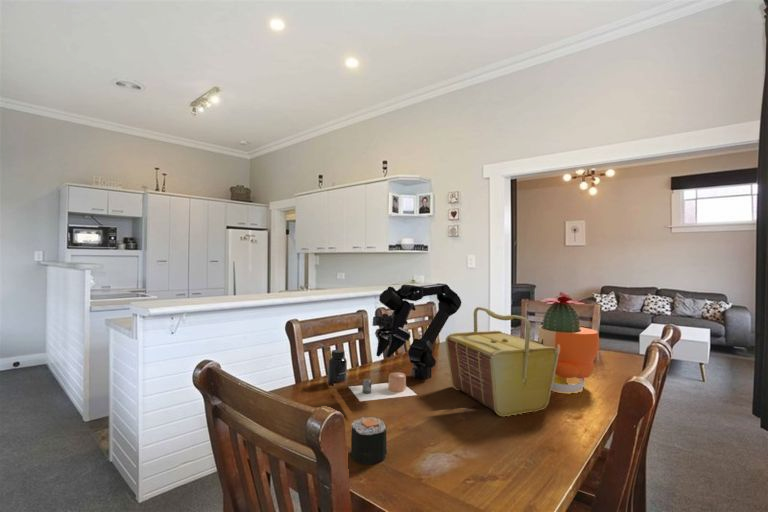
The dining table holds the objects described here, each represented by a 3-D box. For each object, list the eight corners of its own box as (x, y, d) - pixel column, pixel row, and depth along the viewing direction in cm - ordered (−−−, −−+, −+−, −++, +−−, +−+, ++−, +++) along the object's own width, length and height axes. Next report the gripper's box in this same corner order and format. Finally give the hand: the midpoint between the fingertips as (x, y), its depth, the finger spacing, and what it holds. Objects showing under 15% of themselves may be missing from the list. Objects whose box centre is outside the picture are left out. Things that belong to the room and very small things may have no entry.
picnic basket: (442, 389, 139) (444, 306, 139) (500, 382, 149) (502, 305, 149) (492, 423, 112) (494, 320, 112) (560, 412, 121) (563, 317, 121)
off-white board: (401, 385, 142) (401, 381, 142) (417, 399, 129) (417, 394, 129) (348, 390, 135) (348, 386, 135) (359, 405, 122) (359, 401, 122)
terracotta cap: (401, 385, 138) (401, 371, 138) (407, 391, 132) (408, 376, 132) (386, 387, 136) (387, 373, 136) (392, 392, 130) (392, 377, 130)
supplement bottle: (342, 387, 139) (343, 353, 139) (325, 385, 140) (325, 352, 140) (348, 381, 146) (349, 349, 146) (331, 379, 147) (332, 348, 147)
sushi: (375, 443, 98) (376, 412, 98) (391, 459, 91) (392, 425, 91) (345, 450, 94) (346, 418, 94) (360, 467, 87) (361, 432, 87)
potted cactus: (532, 389, 142) (534, 294, 142) (538, 373, 162) (541, 290, 162) (599, 400, 132) (601, 298, 132) (597, 382, 152) (599, 293, 152)
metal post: (369, 390, 132) (369, 378, 132) (372, 393, 129) (372, 381, 129) (361, 391, 131) (361, 379, 131) (363, 394, 128) (364, 382, 128)
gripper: (372, 307, 146) (354, 346, 141) (391, 303, 129) (371, 347, 124) (396, 321, 149) (380, 359, 143) (418, 318, 132) (400, 361, 126)
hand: (382, 356), depth 134 cm, fingers open, 9 cm apart
